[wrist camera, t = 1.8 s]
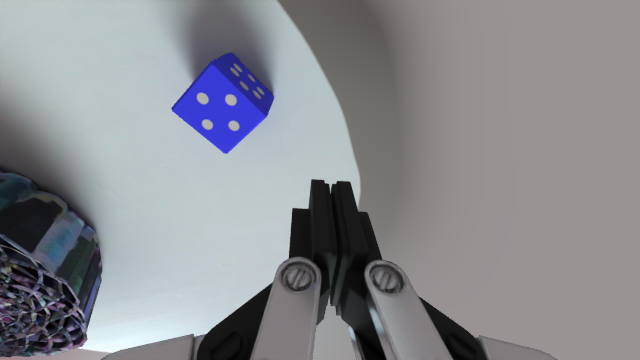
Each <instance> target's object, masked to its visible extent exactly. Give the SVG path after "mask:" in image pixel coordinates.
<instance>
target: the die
mask: <svg viewBox="0 0 640 360" xmlns="http://www.w3.org/2000/svg"><path fill="white" fill-rule="evenodd" d="M273 100H274V96H273V95H272V94H271V93H270V92H269V91H268V90H267V89H266V88H265V87H264V86H263V85H262V84H261V82H260V81H259V80H258V79H257V78H256V77H255V76H254V75H253V74H252V73H251V72H250V71H249V70H248V69H247V68H246V67H245V66H244V65H243V64H242V63H241V62H240V61H239V59H238V58H237V57H236V56H235V55H234V54H233V53H228V54H226V55H223V56H221V57H219V58H217V59H215V60H213V61H211V62H210V63H209V65H208V66H207V67H206V68H205V69H204V70H203V72H202V73H201V74H200V75H199V76H198V78H197V79H196V80H195V81H194V82H193V83H192V85H191V86H190V87H189V88H188V89H187V90H186V92H185V93H184V94H183V95H182V96H181V97H180V99H179V100H178V101H177V102H176V103H175V104H174V106H173V107H172V111H173V112H174V113H175V114H177V115H178V116H179V117H180V118H182V119H183V120H184V121H185V122H187V123H188V124H189V125H190V126H191V127H193V128H194V129H195V130H196V131H198V132H199V133H200V134H201V135H203V136H204V137H205V138H206V139H207V140H209V141H210V142H211V143H212V144H214V145H215V146H216V147H217V148H219V149H220V150H221V151H222V152H223V153H225V154H227V153H228V152H229V151H231V150H232V149H233V148H234V147H235V146H236V145H237V144H238V143H239V142H240V141H241V140H242V139H243V138H244V137H245V136H247V135H248V134H249V133H250V132H251V131H252V130H253V129H254V128H255V127H256V126H257V125H258V124H259V123H260V122H261V121H263V120H264V119H265V118H266V117H267V115H268V112H269V110H270V107H271V105H272V102H273Z"/></svg>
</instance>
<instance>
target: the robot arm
mask: <svg viewBox="0 0 640 360" xmlns="http://www.w3.org/2000/svg"><path fill="white" fill-rule="evenodd" d="M329 294H330V304H331V306H336V315H341V317H342V319H343V320H344V321H345V322H346V323H347V324H348V329H349V334H350V338H351V342H352V345H353V349H354V352H355V356H356V360H557V359H556V358H554V357H553V356H551V355H549V354H547V353H545V352H543V351H540V350H537V349H533V348H529V347H524V346H520V345H516V344H512V343H508V342H504V341H500V340H496V339H492V338H488V337H484V336H480V335H479V337H478V338H475V337H474V336H472V335H471V334H470V333H469V332H468V331H467V330H465V329H464V328H462V327H461V326H459V325H458V324H457V323H456V322H454V321H453V320H451V319H450V318H449V317H447V316H446V315H444V314H443V313H441V312H440V311H439V310H437V309H436V308H434V307H433V306H432V305H430V304H429V303H427V302H426V301H425V300H423V299H422V298H420V297H419V296H418V295H417V293H416V292H415V290H414V288H413V286H412V285H411V283H410V281H409V279H408V277H407V275H406V274H405V273H404V271H403V270H402V269H401V268H400V267H399V266H397V265H396V264H394V263H392V262H390V261H386V260H382V257H381V254H380V250H379V247H378V244H377V241H376V238H375V235H374V231H373V228H372V225H371V222H370V219H369V216H368V213H367V212H358V209H357V205H356V202H355V198H354V194H353V190H352V187H351V183H350V182H346V181H337V183H336V184H332V188H331V194H330V188H329V184H326V183H325V182H324V180H314V179H312V180H311V189H310V199H309V209H298V208H293V209H292V223H291V236H290V250H289V259H287V260H286V261H284V262H283V263H282V264H281V265H280V266H279V267H278V269H277V271H276V274H275V278H274V281H273V283H271V284H270V285H269V286H267V287H266V288H265V289H263V290H262V291H261V292H259V293H258V294H257V295H255V296H254V297H253V298H252V299H250V300H249V301H248V302H246V303H245V304H244V305H242V306H241V307H240V308H238V309H237V310H236V311H234V312H233V313H232V314H231V315H229V316H228V317H227V318H225V319H224V320H223V321H221V322H220V323H219V324H217V325H216V326H215V327H214V328H212V329H211V330H210V331H209V332H208V333H207V334H205V335H200V336H196V337H194V334H190V335H186V336H182V337H177V338H173V339H168V340H164V341H159V342H155V343H151V344H146V345H142V346H137V347H133V348H128V349H124V350H120V351H117V352H114V353H112V354H109V355H107V356H106V357H104V358H103V359H101V360H312V358H313V349H314V340H315V332H316V326H317V325H318V324H319V323H320V322H321V321H322V320H323V319H324V314H325V310H326V306H327V303H328V299H329Z"/></svg>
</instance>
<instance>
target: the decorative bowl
mask: <svg viewBox="0 0 640 360" xmlns="http://www.w3.org/2000/svg"><path fill="white" fill-rule="evenodd" d="M97 241H98V237H97V235H96V233H95V231H94V230H93V229H92V228H90V227H89V226H88V225H85V221H84V220H83V219H82V218H81V217H80V216H79V215H78V214H77V213H76V212H75V211H73V210H71V209H68V207H67V204H66V203H65V202H64V201H63V200H62V199H60V198H59V197H58V196H56V195H54V194H52V193H48V192H44V191H40V190H39V188H38V187H37V186H36V185H35V184H34V182H33V181H32V180H31V179H29V178H26V177H23V176H20V175H18V174H15V173H3V172H2V171H1V170H0V357H12V356H25V357H30V356H36V355H37V356H40V355H41V356H52V355H56V354H60V353H63V352H67V351H68V350H70V349H74V348H78V347H82V346H83V345H84V343H85V342H86V340H87V335H86V332H87V328H88V324H89V321H90V318H91V314H92V311H93V308H94V304H95V301H96V297H97V294H98V291H99V287H100V284H101V273H102V261H101V256H100V249H99V248H98V247H96V244H97Z"/></svg>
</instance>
